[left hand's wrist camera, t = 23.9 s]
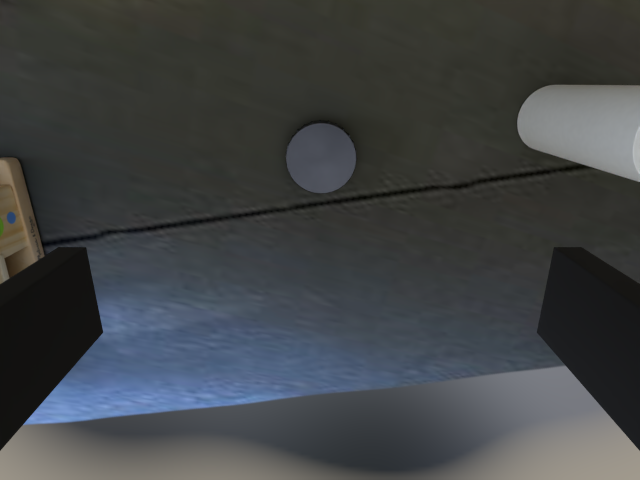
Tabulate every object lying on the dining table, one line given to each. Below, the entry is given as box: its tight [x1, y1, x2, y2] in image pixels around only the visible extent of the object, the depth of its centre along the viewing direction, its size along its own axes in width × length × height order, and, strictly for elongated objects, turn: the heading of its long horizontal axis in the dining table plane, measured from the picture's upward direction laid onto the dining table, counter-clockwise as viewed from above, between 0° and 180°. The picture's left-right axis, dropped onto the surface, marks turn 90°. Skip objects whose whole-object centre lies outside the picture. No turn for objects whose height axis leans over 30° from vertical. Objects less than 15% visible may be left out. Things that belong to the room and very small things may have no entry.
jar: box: [517, 85, 640, 182], centre depth 29 cm, size 5×5×16 cm
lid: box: [286, 120, 357, 193], centre depth 36 cm, size 6×6×2 cm
